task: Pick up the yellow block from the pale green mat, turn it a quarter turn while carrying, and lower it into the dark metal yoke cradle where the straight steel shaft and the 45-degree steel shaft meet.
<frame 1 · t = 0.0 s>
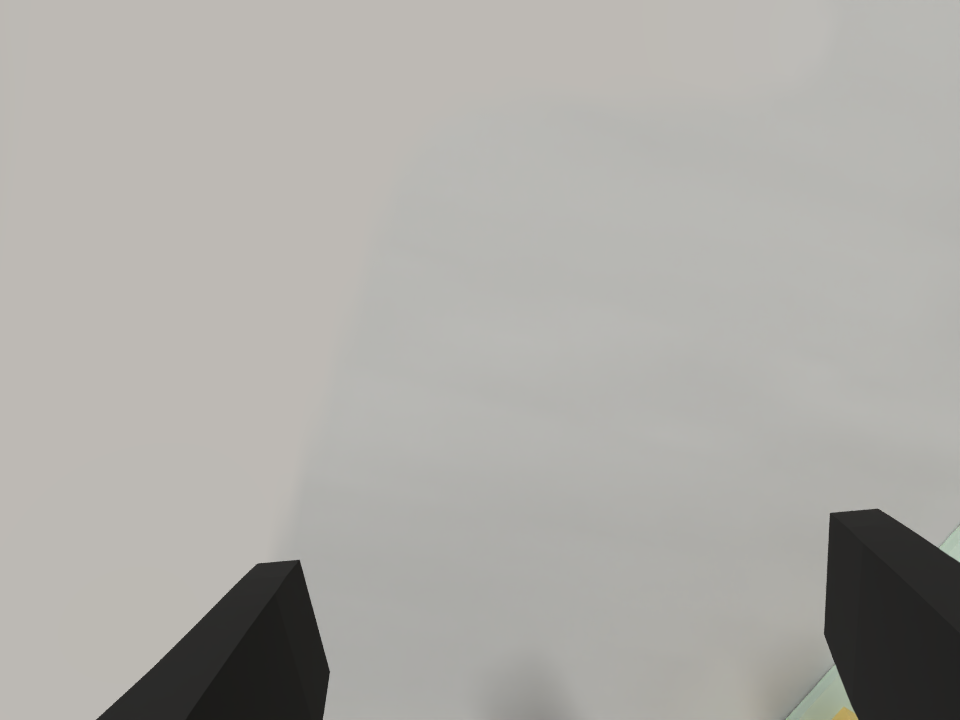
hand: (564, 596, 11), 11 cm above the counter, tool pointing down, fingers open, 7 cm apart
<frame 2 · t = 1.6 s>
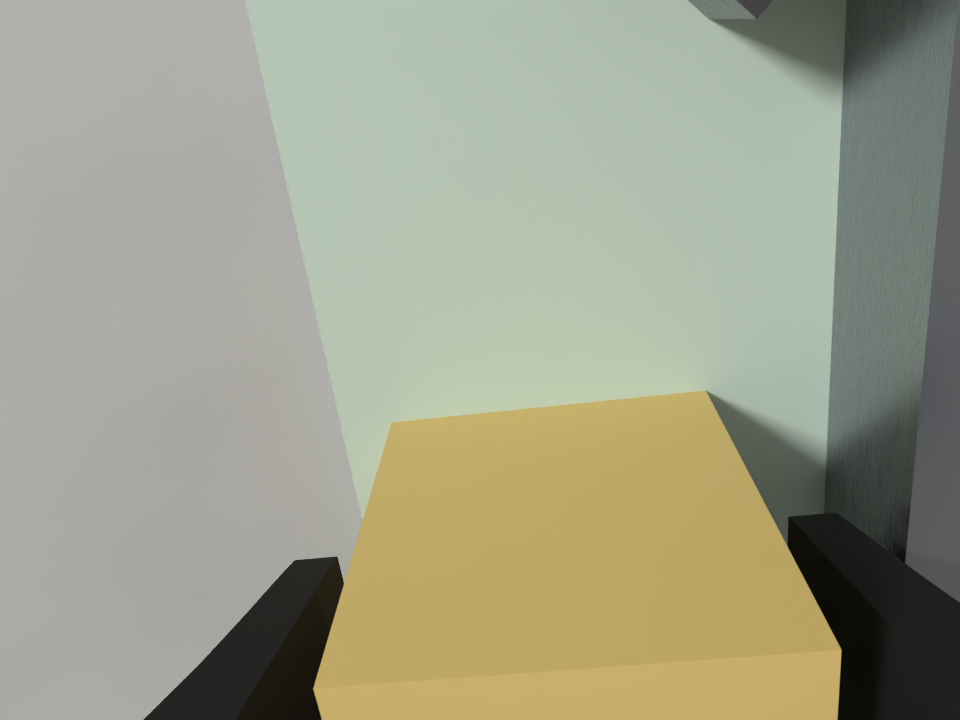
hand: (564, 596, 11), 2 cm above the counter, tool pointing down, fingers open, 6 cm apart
yellow block: (560, 536, 12), resting on mat
mat: (894, 374, 11), on the counter
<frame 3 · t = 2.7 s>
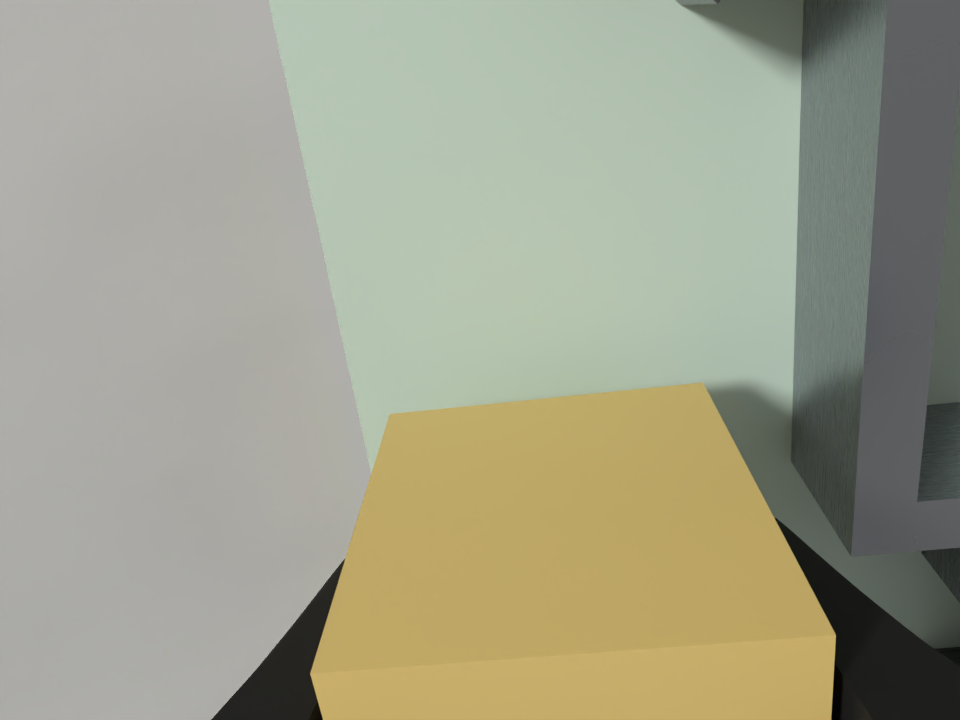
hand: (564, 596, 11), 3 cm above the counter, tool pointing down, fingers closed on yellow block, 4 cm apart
yellow block: (558, 528, 12), point 2 cm above the counter, touching gripper
mat: (853, 330, 13), on the counter
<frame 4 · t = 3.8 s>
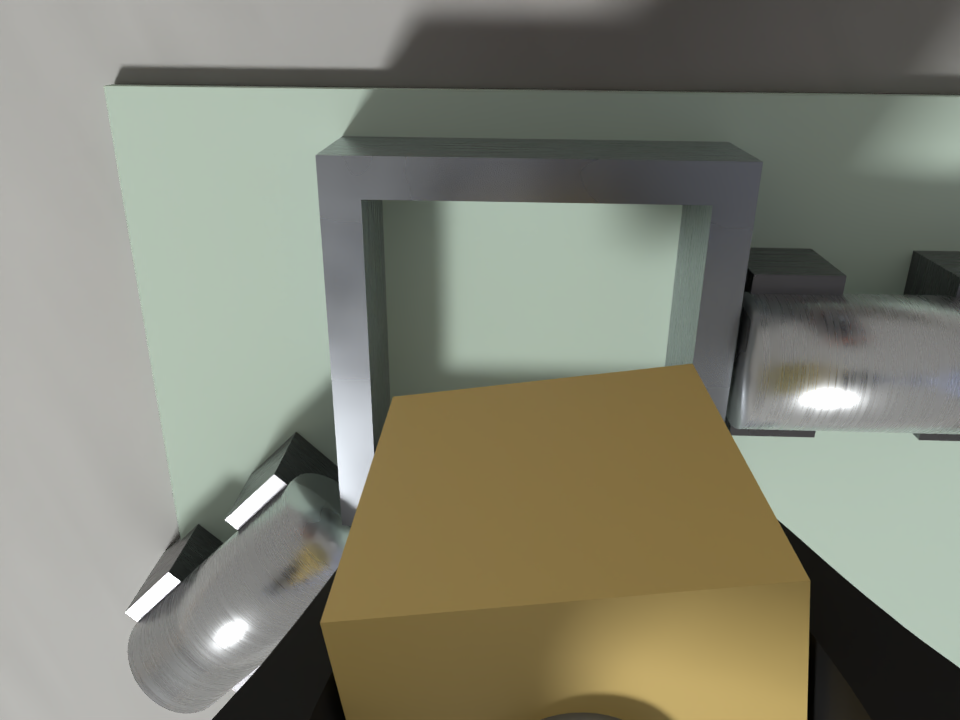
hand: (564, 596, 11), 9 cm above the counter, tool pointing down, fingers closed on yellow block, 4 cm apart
yellow block: (555, 507, 13), point 7 cm above the counter, touching gripper
shaft b: (281, 532, 21), resting on mat
cradle: (527, 313, 19), resting on mat
mat: (603, 428, 20), on the counter
shaft a: (839, 320, 18), resting on mat
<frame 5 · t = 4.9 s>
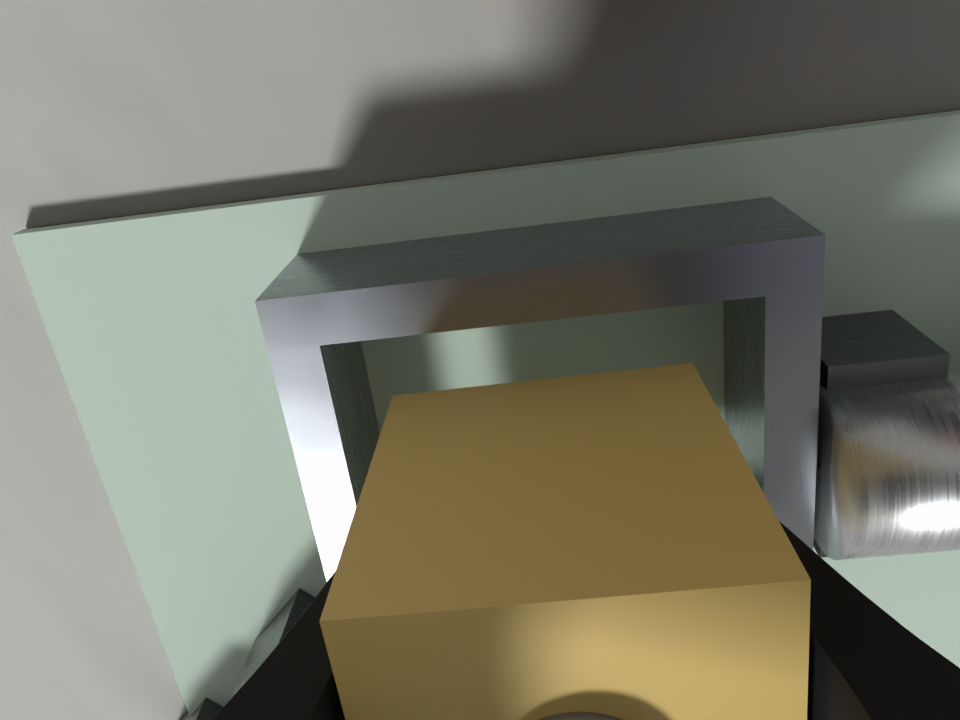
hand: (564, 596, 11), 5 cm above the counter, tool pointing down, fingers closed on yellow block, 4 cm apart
yellow block: (555, 506, 13), point 3 cm above the counter, touching gripper
shaft b: (302, 693, 19), resting on mat
cradle: (549, 424, 15), resting on mat
mat: (660, 542, 16), on the counter
shaft a: (936, 385, 15), resting on mat
when the fingers open (4 cm above the counter, at t = 5.6 s): yellow block drops 1 cm, resting on mat.
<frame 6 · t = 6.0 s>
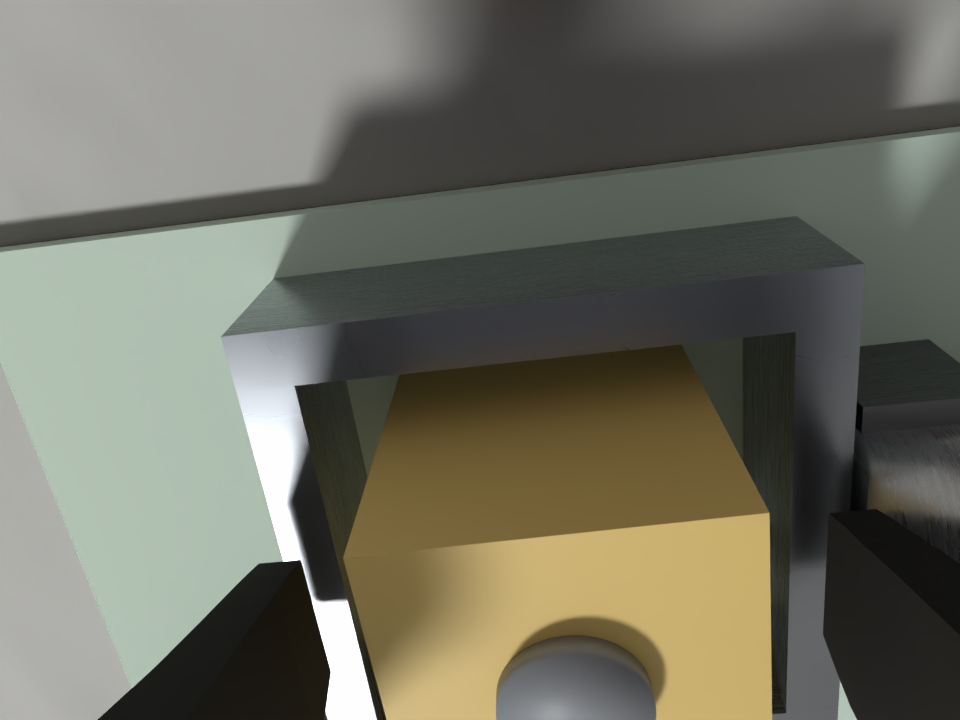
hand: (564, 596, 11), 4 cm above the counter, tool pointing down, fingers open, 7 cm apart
yellow block: (552, 470, 14), resting on mat
cradle: (551, 461, 14), resting on mat
mat: (671, 586, 15), on the counter
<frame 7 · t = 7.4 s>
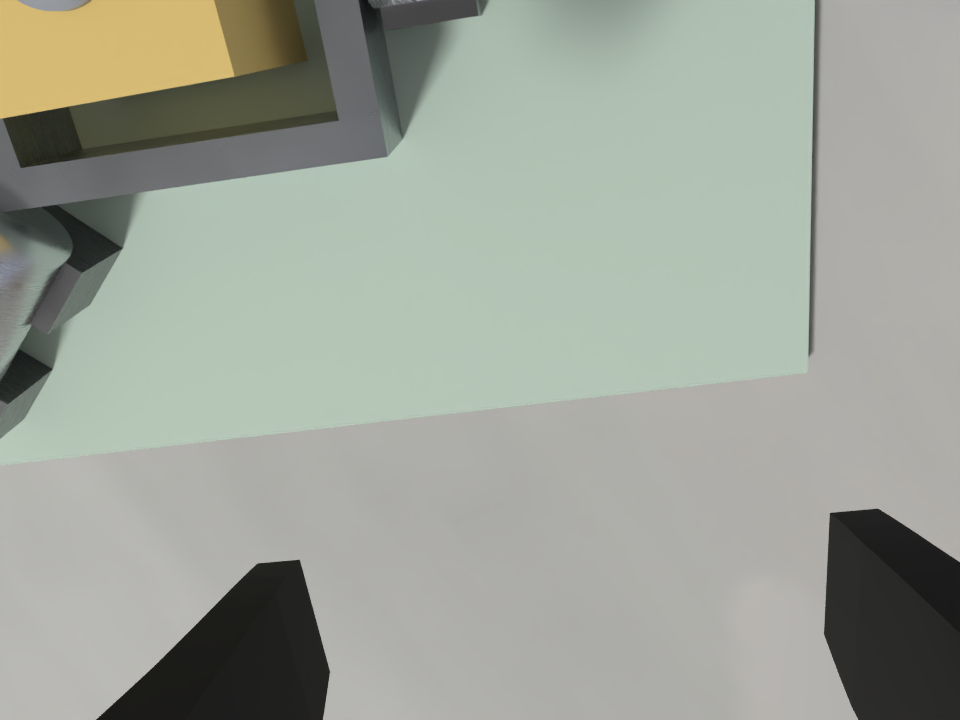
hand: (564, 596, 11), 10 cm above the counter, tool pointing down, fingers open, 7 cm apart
shaft b: (14, 291, 20), resting on mat
mat: (307, 101, 18), on the counter
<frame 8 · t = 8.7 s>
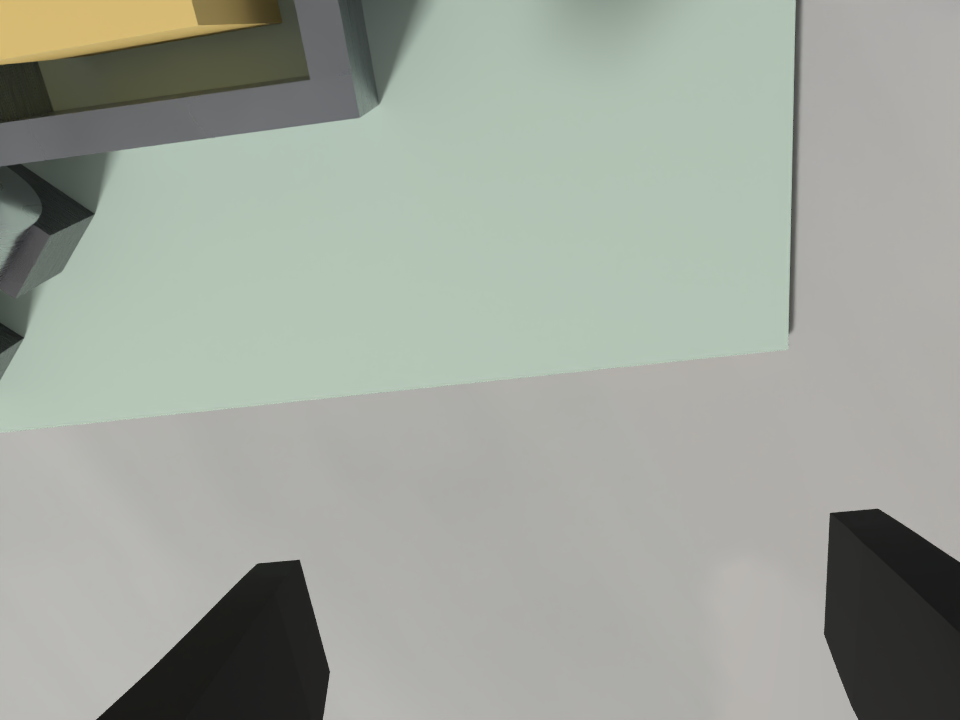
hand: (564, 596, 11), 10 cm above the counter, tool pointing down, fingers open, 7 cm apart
mat: (283, 66, 18), on the counter
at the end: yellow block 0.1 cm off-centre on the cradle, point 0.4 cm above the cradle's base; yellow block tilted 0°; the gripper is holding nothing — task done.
